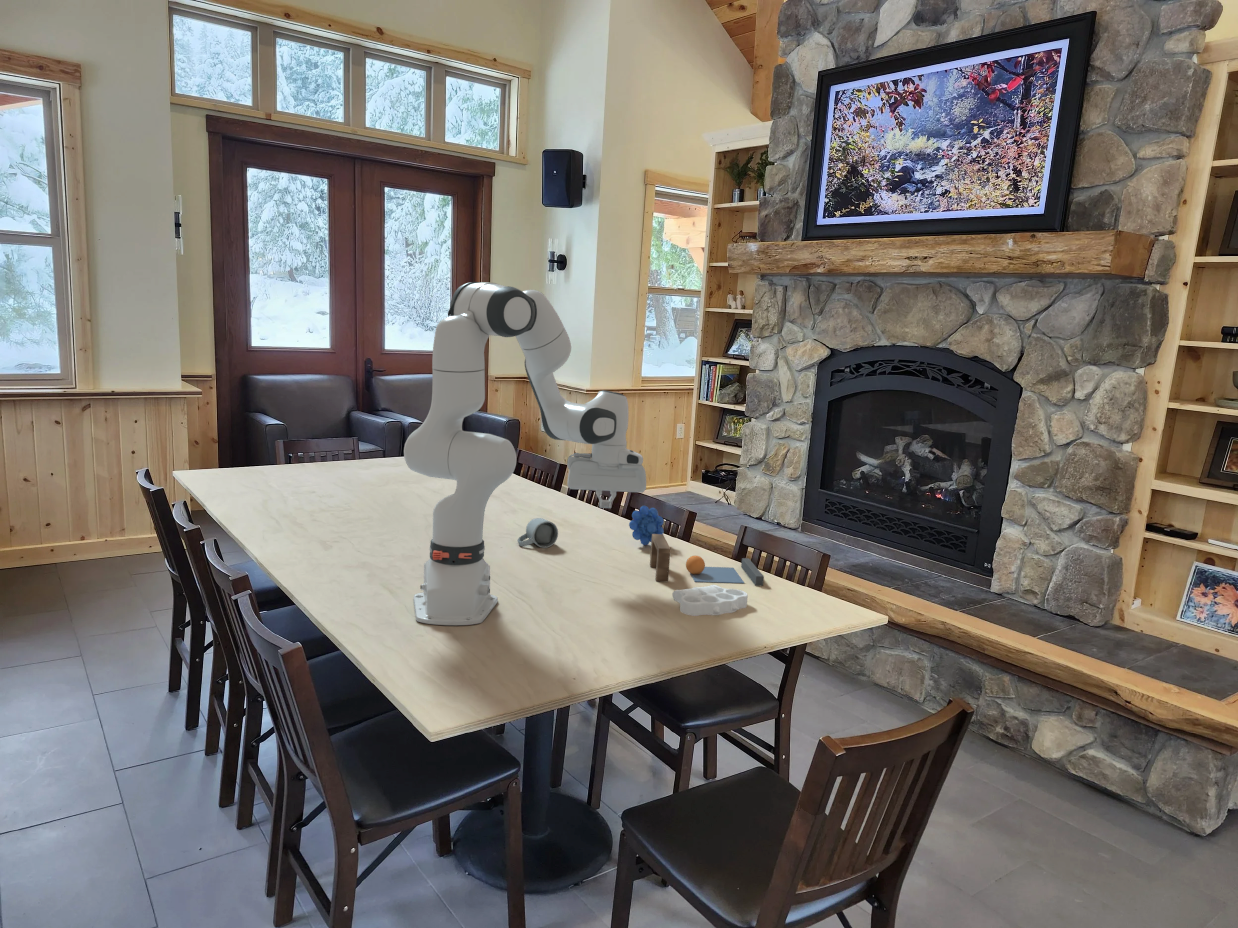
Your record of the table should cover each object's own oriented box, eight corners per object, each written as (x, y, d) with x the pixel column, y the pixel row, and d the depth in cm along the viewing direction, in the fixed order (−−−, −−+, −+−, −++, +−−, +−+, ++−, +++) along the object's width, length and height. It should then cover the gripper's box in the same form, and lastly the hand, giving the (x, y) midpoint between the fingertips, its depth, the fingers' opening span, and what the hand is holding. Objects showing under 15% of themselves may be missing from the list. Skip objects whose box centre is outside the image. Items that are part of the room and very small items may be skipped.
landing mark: (744, 583, 216) (744, 582, 216) (694, 581, 214) (694, 581, 214) (733, 568, 228) (733, 567, 228) (686, 566, 227) (686, 565, 227)
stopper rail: (762, 585, 215) (763, 576, 214) (755, 585, 214) (756, 576, 214) (748, 567, 230) (749, 558, 230) (741, 566, 230) (741, 558, 230)
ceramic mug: (547, 539, 246) (547, 514, 245) (558, 546, 239) (559, 520, 237) (513, 542, 241) (513, 516, 240) (523, 550, 234) (524, 523, 233)
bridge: (660, 565, 227) (662, 534, 225) (668, 581, 213) (670, 548, 212) (649, 564, 227) (651, 533, 225) (656, 581, 213) (658, 548, 211)
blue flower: (635, 550, 240) (637, 509, 238) (624, 544, 246) (626, 504, 244) (669, 547, 245) (672, 507, 243) (658, 541, 251) (661, 502, 249)
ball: (704, 557, 218) (685, 560, 217) (707, 575, 219) (688, 578, 219) (701, 551, 222) (683, 554, 222) (704, 568, 224) (686, 572, 223)
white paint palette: (720, 593, 208) (759, 612, 196) (660, 602, 199) (697, 623, 187) (721, 580, 208) (760, 598, 195) (661, 588, 198) (698, 608, 186)
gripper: (568, 454, 209) (565, 508, 211) (649, 458, 211) (645, 512, 213) (567, 450, 215) (564, 503, 217) (646, 454, 217) (642, 506, 219)
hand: (605, 507), depth 215 cm, fingers closed
